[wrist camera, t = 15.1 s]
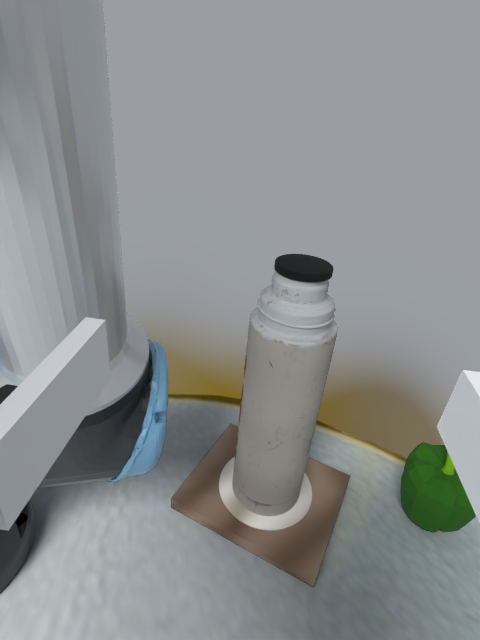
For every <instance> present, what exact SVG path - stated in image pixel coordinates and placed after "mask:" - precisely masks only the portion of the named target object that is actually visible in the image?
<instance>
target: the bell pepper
mask: <svg viewBox="0 0 480 640" xmlns="http://www.w3.org/2000/svg"><path fill="white" fill-rule="evenodd" d="M401 500H402V506H403V509H404V511H405V512H406V514H407V515H408V517H409V518H410V520H411V521H412V522H413V523H415V524H416V525H417V526H419V527H420V528H422V529H423V530H427V531H430V532H436V531H437V530H440V531H442V532H448V531H457V530H459V529H460V528H462V527H463V526H465V525H466V524H467V523H469V522H470V521H471V520H472V519H473V518H475V517H476V514H475V512H474V510H473V508H472V505H471V503H470V501H469V499H468V496H467V494H466V492H465V490H464V487H463V485H462V483H461V480H460V478H459V476H458V474H457V471H456V469H455V467H454V465H453V462H452V460H451V458H450V456H449V453H448V451H447V449H446V447H445V445H430V444H427V443H424V442H423V443H421V444H420V445H418V446H417V447H416V448H415V449H414V450H413V451H412V452H411V453H410V455H409V456H408V459H407V461H406V464H405V468H404V473H403V476H402V481H401Z"/></svg>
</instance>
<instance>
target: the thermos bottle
mask: <svg viewBox="0 0 480 640" xmlns="http://www.w3.org/2000/svg"><path fill="white" fill-rule="evenodd" d="M332 273H333V266H332V265H331V264H330V263H329V262H327V261H325V260H323V259H321V258H318V257H314V256H310V255H303V254H287V255H282V256H279V257H278V258H276V260H275V272H274V274H273V277H272V284H271V285H270V286H268V287H266V288H265V289H264V290H263V291H262V292H261V294H260V298H259V300H258V307H257V308H255V309H254V310H253V311H252V313H251V315H250V322H249V332H248V341H247V350H246V359H245V368H244V378H243V388H242V397H241V405H240V415H239V424H238V433H237V443H236V452H235V461H234V470H233V480H232V487H233V492H234V494H235V497H236V498H237V500H238V501H239V502H240V504H241V505H242V506H243V507H245V508H246V509H247V510H249V511H251V512H253V513H255V514H258V515H262V516H278V515H281V514H284V513H286V512H288V511H289V510H290V509H292V508H293V507H294V505H295V504H296V503H297V500H298V498H299V494H300V490H301V486H302V482H303V477H304V473H305V469H306V464H307V460H308V453H309V448H310V443H311V440H312V437H313V433H314V430H315V426H316V422H317V417H318V413H319V409H320V404H321V400H322V395H323V392H324V387H325V383H326V379H327V375H328V370H329V366H330V362H331V357H332V353H333V349H334V345H335V340H336V336H337V329H338V328H337V325H336V322H335V321H334V311H335V308H334V307H335V304H334V301H333V299H332V298H331V297H330V296H329V295H328V294H327V291H328V286H329V281H328V279H330V278H331V277H332Z"/></svg>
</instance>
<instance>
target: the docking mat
mask: <svg viewBox="0 0 480 640" xmlns="http://www.w3.org/2000/svg"><path fill="white" fill-rule="evenodd" d="M237 433H238V427H237V426H235V425H233V424H230V425H229V426H228V428H227V429H226V430H225V431H224V433H223V434H222V435H221V436H220V438H219V439H218V440H217V441H216V443H215V444H214V445H213V446H212V448H211V449H210V450H209V451H208V453H207V454H206V455H205V457H204V458H203V459H202V460H201V462H200V463H199V464H198V465H197V467H196V468H195V469H194V470H193V472H192V473H191V474H190V475H189V477H188V478H187V479H186V480H185V482H184V483H183V484H182V485H181V487H180V488H179V489H178V490H177V492H176V493H175V494H174V496H173V497H172V498H171V508H173V509H175V510H177V511H179V512H180V513H182V514H184V515H186V516H187V517H189V518H191V519H193V520H195V521H196V522H198V523H200V524H202V525H203V526H205V527H207V528H209V529H211V530H212V531H214V532H216V533H218V534H219V535H221V536H223V537H225V538H227V539H228V540H230V541H232V542H234V543H235V544H237V545H239V546H241V547H243V548H244V549H246V550H248V551H250V552H251V553H253V554H255V555H257V556H259V557H260V558H262V559H264V560H266V561H267V562H269V563H271V564H273V565H275V566H276V567H278V568H280V569H282V570H283V571H285V572H287V573H289V574H291V575H292V576H294V577H296V578H298V579H299V580H301V581H303V582H305V583H307V584H308V585H310V586H312V587H314V584H315V581H316V578H317V575H318V572H319V569H320V566H321V563H322V560H323V557H324V554H325V551H326V548H327V545H328V542H329V539H330V536H331V533H332V530H333V527H334V524H335V521H336V518H337V515H338V512H339V509H340V505H341V502H342V499H343V496H344V493H345V490H346V487H347V484H348V481H349V478H350V476H349V475H347V474H345V473H343V472H340V471H338V470H336V469H333V468H331V467H329V466H327V465H324V464H322V463H320V462H317V461H315V460H313V459H311V458H308V460H307V464H306V469H305V473H304V477H303V482H302V486H301V490H300V494H299V498H298V500H297V503H296V504H295V505H294V507H293V508H292V509H290V510H289V511H288V512H286V513H284V514H281V515H278V516H262V515H258V514H255V513H253V512H251V511H249V510H247V509H246V508H245V507H243V506H242V505H241V504H240V502H239V501H238V500H237V498H236V497H235V494H234V492H233V487H232V480H233V470H234V461H235V452H236V443H237Z"/></svg>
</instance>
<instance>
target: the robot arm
mask: <svg viewBox="0 0 480 640" xmlns="http://www.w3.org/2000/svg"><path fill="white" fill-rule="evenodd" d="M110 106H111V105H110V91H109V78H108V66H107V52H106V39H105V25H104V12H103V0H0V592H1V591H2V590H3V589H4V588H5V587H6V586H7V585H8V584H9V583H10V581H11V580H12V579H13V578H14V576H15V575H16V574H17V572H18V571H19V569H20V568H21V566H22V565H23V563H24V561H25V559H26V557H27V555H28V553H29V551H30V548H31V546H32V542H33V539H34V534H35V517H34V513H33V509H32V505H31V501H30V498H31V496H32V495H33V493H34V492H35V490H36V489H39V488H47V487H55V486H63V485H71V484H79V483H87V482H95V481H103V480H106V481H108V482H116V481H118V480H120V479H122V478H124V477H130V476H135V475H141V474H145V473H147V472H149V471H150V470H151V469H153V468H154V467H155V465H156V464H157V463H158V461H159V459H160V456H161V453H162V449H163V445H164V439H165V432H166V415H165V414H166V411H167V404H168V368H167V361H166V354H165V350H164V348H163V346H162V345H161V344H160V343H158V342H155V341H151V340H148V339H147V336H146V334H145V331H144V329H143V328H142V326H141V325H140V324H139V322H138V321H136V319H134V318H133V317H132V316H131V315H129V314H128V313H127V312H126V303H125V290H124V277H123V263H122V250H121V237H120V224H119V211H118V197H117V184H116V172H115V159H114V144H113V131H112V118H111V107H110ZM437 428H438V431H439V433H440V435H441V437H442V440H443V442H444V444H445V447H446V449H447V451H448V453H449V456H450V458H451V460H452V462H453V465H454V467H455V469H456V471H457V474H458V476H459V478H460V480H461V483H462V485H463V487H464V490H465V492H466V494H467V496H468V499H469V501H470V503H471V505H472V508H473V510H474V512H475V514H476V517H477V519H478V521H479V523H480V372H474V371H466V370H463V371H462V372H461V375H460V377H459V379H458V381H457V384H456V386H455V388H454V390H453V393H452V395H451V397H450V399H449V401H448V403H447V406H446V408H445V410H444V412H443V415H442V417H441V419H440V421H439V423H438V425H437Z"/></svg>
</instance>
